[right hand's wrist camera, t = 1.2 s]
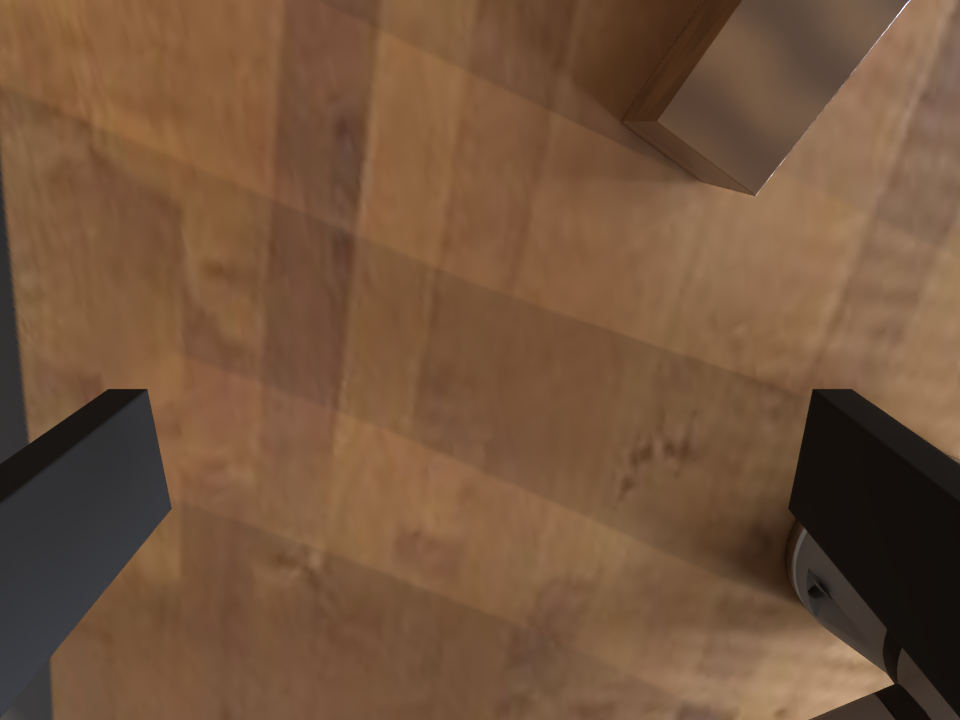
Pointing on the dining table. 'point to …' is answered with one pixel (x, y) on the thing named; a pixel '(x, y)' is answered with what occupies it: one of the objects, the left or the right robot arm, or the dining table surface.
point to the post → (752, 82)
